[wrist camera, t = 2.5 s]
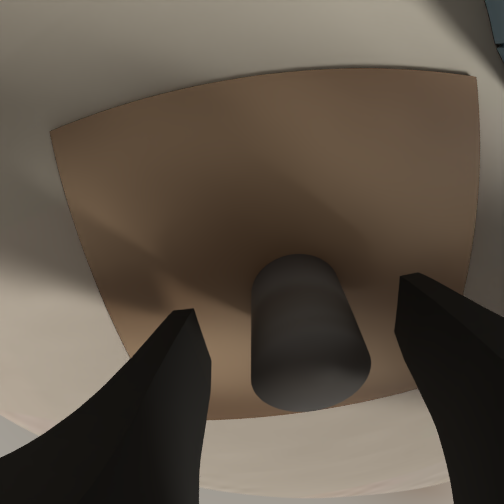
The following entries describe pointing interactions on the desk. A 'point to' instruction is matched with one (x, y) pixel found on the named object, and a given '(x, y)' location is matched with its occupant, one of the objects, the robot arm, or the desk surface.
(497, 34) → the ceramic bowl
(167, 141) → the walnut lid
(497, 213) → the desk surface
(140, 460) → the robot arm
